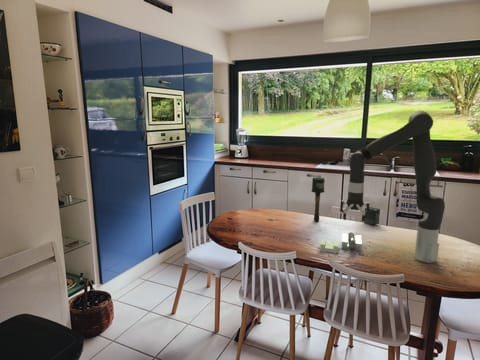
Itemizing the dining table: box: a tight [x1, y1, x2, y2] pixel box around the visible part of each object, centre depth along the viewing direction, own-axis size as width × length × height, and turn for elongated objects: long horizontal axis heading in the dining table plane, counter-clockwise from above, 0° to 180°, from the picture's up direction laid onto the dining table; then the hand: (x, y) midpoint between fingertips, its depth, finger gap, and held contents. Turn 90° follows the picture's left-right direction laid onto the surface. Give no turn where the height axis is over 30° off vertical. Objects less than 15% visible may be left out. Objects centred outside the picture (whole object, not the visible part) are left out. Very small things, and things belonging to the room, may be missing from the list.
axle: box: [347, 232, 356, 251], centre depth 177 cm, size 18×3×3 cm, turn 164°
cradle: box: [319, 238, 340, 254], centre depth 175 cm, size 8×9×4 cm
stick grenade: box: [310, 176, 325, 223], centre depth 216 cm, size 8×9×30 cm
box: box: [363, 206, 381, 226], centre depth 214 cm, size 8×6×11 cm
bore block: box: [341, 233, 363, 252], centre depth 179 cm, size 12×10×4 cm
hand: (353, 220), depth 168 cm, fingers open, 8 cm apart
